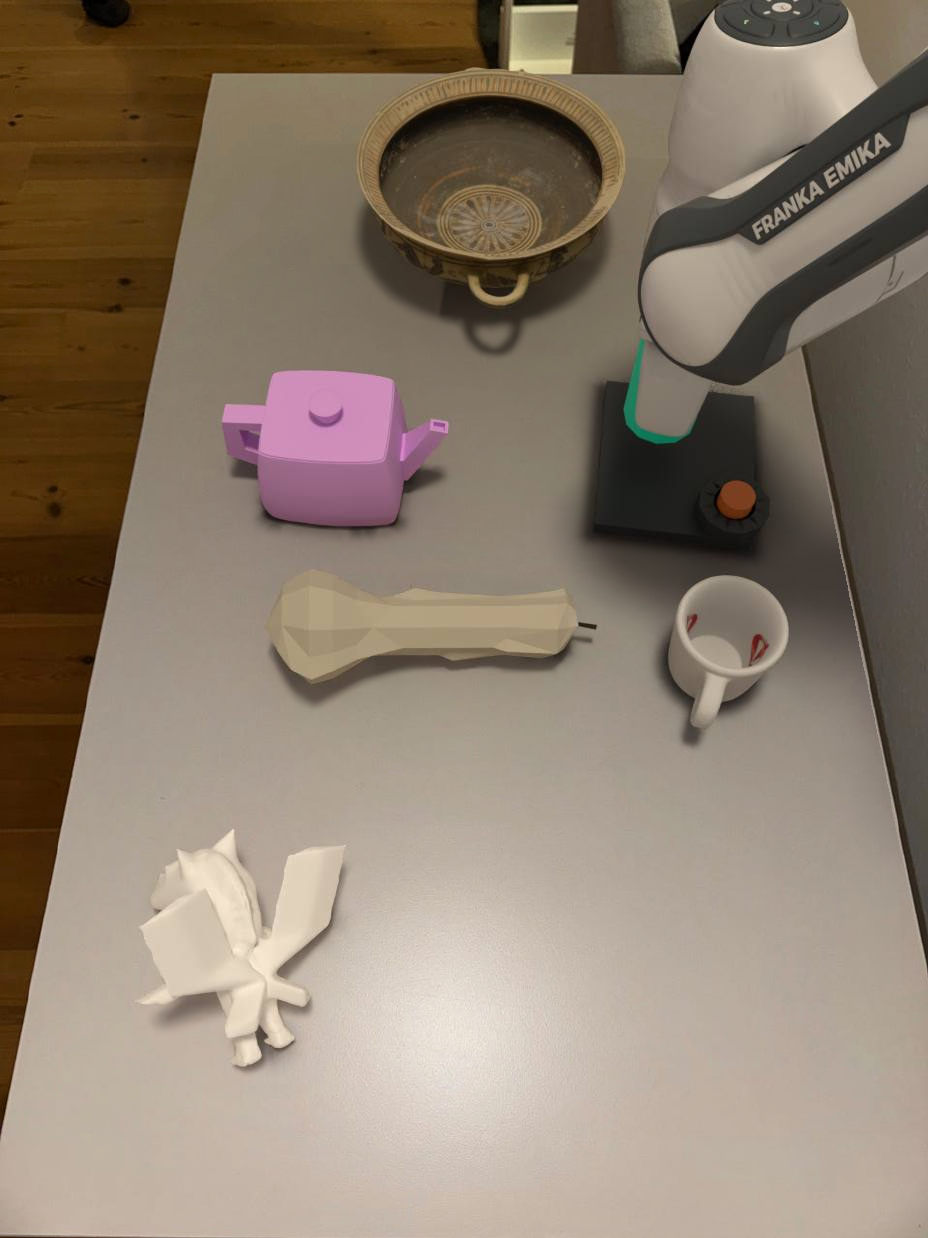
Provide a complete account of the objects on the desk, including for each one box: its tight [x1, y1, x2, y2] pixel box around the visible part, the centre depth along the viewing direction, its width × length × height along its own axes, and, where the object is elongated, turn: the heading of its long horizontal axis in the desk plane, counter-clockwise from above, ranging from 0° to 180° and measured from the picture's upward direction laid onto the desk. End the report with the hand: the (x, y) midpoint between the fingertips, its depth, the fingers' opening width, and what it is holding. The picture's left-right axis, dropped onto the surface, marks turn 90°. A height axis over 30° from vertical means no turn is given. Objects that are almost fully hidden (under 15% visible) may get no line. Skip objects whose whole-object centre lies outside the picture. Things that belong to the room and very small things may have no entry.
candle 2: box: [264, 568, 598, 685], centre depth 77 cm, size 9×8×25 cm
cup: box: [667, 574, 790, 730], centre depth 75 cm, size 11×8×8 cm
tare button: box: [717, 481, 756, 519], centre depth 83 cm, size 3×3×2 cm
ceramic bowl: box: [355, 66, 627, 309], centre depth 95 cm, size 30×24×10 cm
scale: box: [592, 380, 771, 551], centre depth 87 cm, size 14×15×3 cm
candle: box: [623, 338, 697, 444], centre depth 79 cm, size 6×6×12 cm
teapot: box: [221, 369, 449, 527], centre depth 83 cm, size 18×10×10 cm, turn 87°
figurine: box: [133, 828, 347, 1068], centre depth 66 cm, size 15×12×14 cm
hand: (671, 376), depth 81 cm, fingers closed on candle, 5 cm apart
